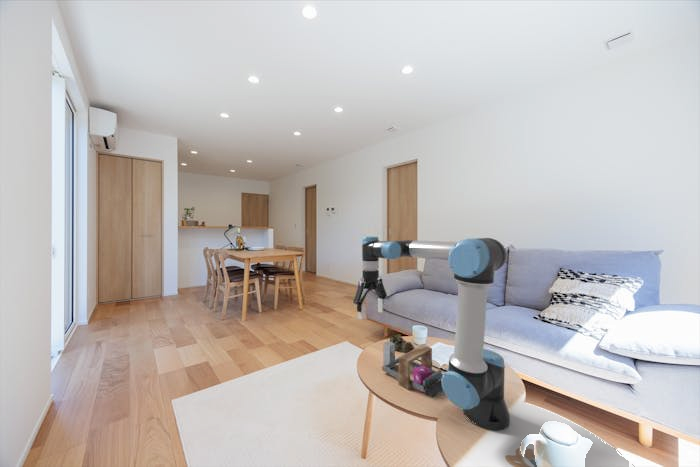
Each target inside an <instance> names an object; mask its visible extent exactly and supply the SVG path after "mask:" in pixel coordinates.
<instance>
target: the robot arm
mask: <svg viewBox="0 0 700 467" xmlns="http://www.w3.org/2000/svg"><path fill="white" fill-rule="evenodd" d="M361 248H362V249H361V250H362V251H361V252H362V253H361V254H362V257H361V258H362V278H363V281H358V283H357V284H358V286H357V289H356V292H355V296H354V298H353V304H355V305H356V311H357V319H359V320H364V304H363V303H364V301H365V299H366V296H368V293H369V292H370V291H374V292H375V294H377V296H378V298H377V312H378V313H381V314H383V313H384V304H385V300H386V298H387V296H388V295H387V292H386V288H385V286H384V284H383V279H382V278H379V276H380V272H379V259H384V260H385V259H387V260H396V259H398V258H417V259H428V260H436V261H437V260H439V261H447V262H448V265H449V267H450V268H451V271H452V272H453V279H454V281H456V283H457V285H458V288H457V303H456V304H457V305H456V322H455V324H456V325H455V336H454V351H453V352H454V353H452V354H450V356H449V358H448V369H447V371H445V372H444V373H443V374H442V379H440V381H441V383H442V388H443V390H442V391H443V393H444V394H445V395H446V397H447V398H448V399H449V401H450V402H451V403H452V404H453V405H455V406H456V407H458V408H459V409H462V411H463V410H464V412H463V414H464V413H465V414H464V416H465V415H466V416H467V417H468V418H469V419H470V420H471V421H473V422H474V423H476V424H477V425H476V424H475V425H476V426H477V427H480V428H483V429H486V430H491V431H501V430H505V429H508V427H509V426H510V424H511V423H510V421H511V420H510V417H511V415H510V413H509V412H510V411H509V410H508V409H509V408H508V406H507V403H506V400H505V368H506V366H505V360H504V357H503V356H502V355H500V354H499V353H497V352H495V351H493V350H491V349H490V350H489V349H485V348H484V347H485V346H484V344H485V332H486V331H485V330H486V319H487V318H486V317H487V316H486V315H487V303H488V302H487V301H488V291H489V290H488V288H489V287H491V286H492V285H493V284H494V281H495V279H494V278H495V272H496V271H498V270H500V269H501V268H502V267H503V266H504V265H505V263H506V261H507V257H508V256H507V255H508V254H507V249H506V248H505V246H504V245H503V244H502V243H501V242H500V241H498V240H497V239H494V238H491V237H481V238H473V237H472V238H466V239H462V240H460V241H435V240H434V241H433V240H432V241H431V240H413V239H405V240H386V241H385V240H384V241H383V240H379V237H378V236H363V237H362V242H361ZM466 416H465V417H466ZM467 417H466V418H467ZM468 418H467V419H468ZM469 419H468V420H469ZM470 420H469V421H470ZM471 421H470V422H471ZM473 422H472V423H473ZM474 423H473V424H474Z"/></svg>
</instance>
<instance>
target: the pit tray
mask: <svg viewBox="0 0 700 467" xmlns="http://www.w3.org/2000/svg"><path fill="white" fill-rule="evenodd" d="M442 391H444V390H443V388H442V383H441V380H439V381H438V382H436V383H435V384H434V385H432V386H431V387H429V388H428V389H427V390H425V391H424V394H425V395H428V396H429V397H431V398H434V397H436V395H438V394H439V393H441V392H442Z"/></svg>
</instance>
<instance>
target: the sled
mask: <svg viewBox="0 0 700 467" xmlns="http://www.w3.org/2000/svg"><path fill="white" fill-rule="evenodd" d="M382 344H383V349H382V351H383V354H382V356H383V358H382V359H383V362H382V364H383V365H382V366H381V369H382V371H383V372H385V373H387V374H389V375H391V376H392V377H394V378H396V379H398V380H399V372H397V371H395V370H393V369H391V368H394V367H395V366H396V365H397V364H399V357H397V358H396V350H395V343H392V342H390V340H388V341H386V342H383V343H382ZM410 366H412V367H413V368H417V367H422V366H424V365H421V363H418V362H417V361H413V362H411V363H410ZM425 367H426V366H425ZM426 368H427V369H429V370H430V371H431V372H432V375H430V376H429V377H427V378H426V379H424V380H423V385H422V384H420V383H418V382H416V381H414V379H411V378H410V386H412V387H414V388H415V389H418V390H419V391H421V392H424V393H425V391H426V390H428V389H429V388H430V387H432V386H433V385H434V384H436V383H437V382H439V381H441V380H442V376H443V373H442V369H438V370H435V369H433V368H432V369H430V368H428V367H426Z"/></svg>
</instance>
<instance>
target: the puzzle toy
mask: <svg viewBox="0 0 700 467" xmlns="http://www.w3.org/2000/svg"><path fill="white" fill-rule="evenodd" d="M430 375H432V372H431V371H430V370H429V369H427V368H426V367H425V366H422V367H417V368H416V367H413V380H414V381H416V382H418V383H420V384H422V385H423V380H424V379H426V378H427V377H429V376H430Z"/></svg>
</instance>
